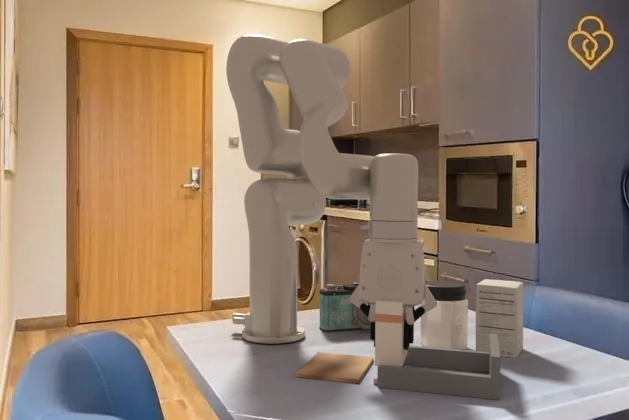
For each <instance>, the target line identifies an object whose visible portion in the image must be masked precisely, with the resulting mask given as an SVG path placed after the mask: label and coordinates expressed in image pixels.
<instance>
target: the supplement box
mask: <svg viewBox="0 0 629 420" xmlns="http://www.w3.org/2000/svg"><path fill="white" fill-rule="evenodd" d="M489 334H497V336H498V344H499V352H500V357H505V358H510V359H511V358H512V359H517V358H518V356H519V355H520V354H521V352H522V350H523V349H524V282H522V281H517V280H515V281H514V280H503V279H502V280H501V279H490V278H489V279H486V278H485V279H483V280H481V281H480V282H478V283H476V284H475V351H486V352H489Z"/></svg>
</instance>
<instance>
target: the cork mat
mask: <svg viewBox="0 0 629 420" xmlns="http://www.w3.org/2000/svg"><path fill="white" fill-rule="evenodd" d="M373 362H375V356H363V355H354V354H344V353H343V354H342V353H333V352H332V353H331V352H330V353H329V352H319V351H317V352H316V354H314V356H313V357H311V358H310V360H308V361H307V362H306V363H305V364H304V365H303V366H302V367H301V368H299V370H298V371H297V372H296V373H295V377H296V378H303V379H313V380H322V381H323V380H324V381H332V382H333V381H334V382H341V383H342V382H343V383H351V384H359V383H360V382H361V381H362V379H363V378H364V376H365V374H366V373H367V371H368V370H369V369H370V367H371V365H372V364H373Z"/></svg>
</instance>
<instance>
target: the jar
mask: <svg viewBox="0 0 629 420" xmlns="http://www.w3.org/2000/svg"><path fill="white" fill-rule="evenodd" d="M425 284H426V286H427V287H428V289H429V290H430V292H431V294H432V295H433V297H434V298H435V300H436V301H437V306H436V307H435V308H433V309H432V310H430V311H428V312H426V313H424V314H423V315H422V316H421V317H420V344H421V346H425V347H437V348H450V349H462V350H468V346H469V345H468V341H469V338H468V335H469V334H468V332H469V331H468V329H469V327H468V326H469V325H468V324H469V321H468V320H469V315H468V314H469V311H468V310H469V300H468V299H467V285H466V284H465V283H463V282H460V281H453V280H429V281H425ZM424 303H426V301H425V299H423V302H422V303H421V304H420V306H421V305H423V304H424Z"/></svg>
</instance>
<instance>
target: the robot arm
mask: <svg viewBox="0 0 629 420" xmlns="http://www.w3.org/2000/svg"><path fill="white" fill-rule="evenodd" d="M227 54H228V55H227V60H226V66H225V67H226V69H225V70H226V72H225V73H226V80H227V85H228V88H229V91H230V94H231V98H232V100H233V103H234V106H235V110H236V113H237V120H238V128H239V133H240V139H241V145H242V150H243V156H244V160H245V162H246V163H245V164H246V165H247V167H248V168H249V170H251V171H253V172H255V173H259V174H265V175H266V174H267V175H284V176H286V178H284V177H283V178H282V177H280V178H279V177H266V178H260V179H257V180H254V182H252V183H251V184H250V185H249V186H248V187H247V189H246V191H245V193H244V199H243V200H244V201H243V202H244V205H243V206H244V211H245V217H246V221H247V228H248V241H249V243H248V245H249V246H248V247H249V312H247V313H242V312H233V314H232V316H231V317H232V318H231V319H232V320H231V321H232V324H233V325H243V327H244V329H242V331H241V337H242V339H243V340H246V341H248V342H250V343H255V344H257V343H258V344H267V345H269V344H271V345H273V344H286V343H294V342H297V341H299V340H302V339H303V338H305V336H306V335H305V334H306V331H305V328H303V327H302V326H300V325H298V248H297V247H298V246H297V242H296V239H295V237H294V234H293V232H292V231H291V228H290V226H302V225H304V226H305V225H311V224H314V223H315V224H316V223H317V222H318V221H320V219H322V217H323V216H324V214H325V210H326V207H327V206H326V205H327V199H330V200H356V201H357V200H361V201H362V200H363V201H364V200H367V201H368V200H369V220H368V222H367V223H361V225H360V233H365V234H367V235H368V237H369V238H367V239H365V240H364V241H363V245H362V251H361V259H360V269H359V279H358V280H359V282H358V283H359V285H358V286H357V288H356V289H355V291H354V292H353V294H352V295H351V296H350V298H349V300H350V302H351V303H353V304H354V305H355V306H357V307H359V308H360V309H361V311H362V312H363V313H364V314H365V315H366V316H367V317H368V319H369V321H371V329H370V334H369V335H370V340H371V341H373V347H374V348H375V313H376V300H387V301H402V302H403V306H404V309H405V315H406V319H405V324H404V339H403V349H404V350H408V348H409V345H410V344H411V345H412V344H414V341H415V340H414V338H415V337H414V336H415V335H414V334H415V332H414V331H415V330H414V329H415V323H416V321H417V320H419V319H421V316H422V315H423V314H424V313H426V312H428V311H430V310H432V309H433V308H435V307H436V306H437V301H436V300H435V298H434V297H433V295H432V294H431V292H430V290H429V289H428V287H427V286H426V284H425V282H426V270H425V269H426V267H425V257H424V255H425V254H424V250H423V243H422V241H421V240H419V239H418V217H419V216H418V213H419V212H418V207H419V206H418V205H419V204H418V203H419V199H418V198H419V161H418V159H417V158H416V156H414V155H412V154H409V153H400V152H398V153H397V152H395V153H380V154H376V155H375V156H373V155H365V154H364V155H363V154H356V153H355V154H354V153H343V152H342V153H341V152H339V151H338V149H337V148H336V146H335V143H334V141H333V139H332V137H331V135H330V132H329V129H328V128H329V127H331V126H333V125H334V124H335V123H337V122H338V121H339V120H340V119H342V118H343V116H344V115H345V114H346V112H347V110H348V106H349V101H348V99H347V96H346V94H345V93H344V91H343V88H344V87H345V86H346V85H347V83H348V81H349V80H350V76H351V64H350V60H349V58H348V57H347V55H346V53H345V52H344V51H343V50H341V49H340V48H338V47H335V46H333V45H329V44H326V43H322V42H318V41H314V40H310V39H306V38H298V39H294V40H291V41H289V42H288V41H284V40H280V39H278V38H274V37H271V36H267V35H266V36H265V35H261V34H245V35H241V36H240V37H237V39H235V41H234V42H233V43H232V44H231V46H230V49H229V51H228V53H227ZM266 81H267V82H270V83H276V84H281V85H286V86H288V88H289V90H290V92H291V94H292V96H293V99H294V101H295V103H296V105H297V107H298V110H299V112H300V114H301V116H302V119H303V122H302V124H301V127H300V129H299V130H297V129H290V128H285V127H284V126H283V124H282V121H281V117H280V110H279V107H278V104H277V101H276V99H275V98H274V95H273V94H272V92H271V91H270V89H269V88H268V87H267V86H266V84H265V82H266ZM326 198H327V199H326ZM423 299H425V301H426V303H424V304H423V305H421V303H422V302H423ZM368 303H370V304H371V306H370V305H369V304H368ZM416 306H418V307H417V308H415V307H416Z"/></svg>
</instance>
